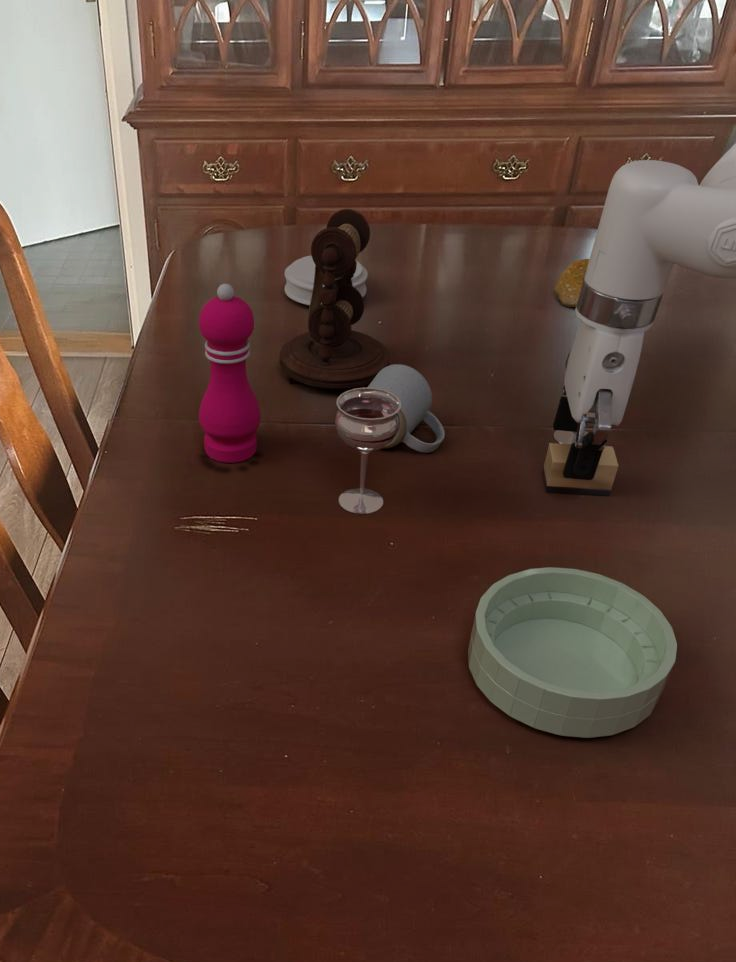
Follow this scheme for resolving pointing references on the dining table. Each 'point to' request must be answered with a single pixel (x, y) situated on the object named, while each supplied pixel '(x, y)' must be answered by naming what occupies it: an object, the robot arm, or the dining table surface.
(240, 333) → the pepper mill
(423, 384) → the ceramic mug
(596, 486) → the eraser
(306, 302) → the lid
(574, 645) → the bowl
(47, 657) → the dining table surface
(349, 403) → the wineglass
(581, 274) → the bagel
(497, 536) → the dining table surface
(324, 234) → the dark brown wooden stand
